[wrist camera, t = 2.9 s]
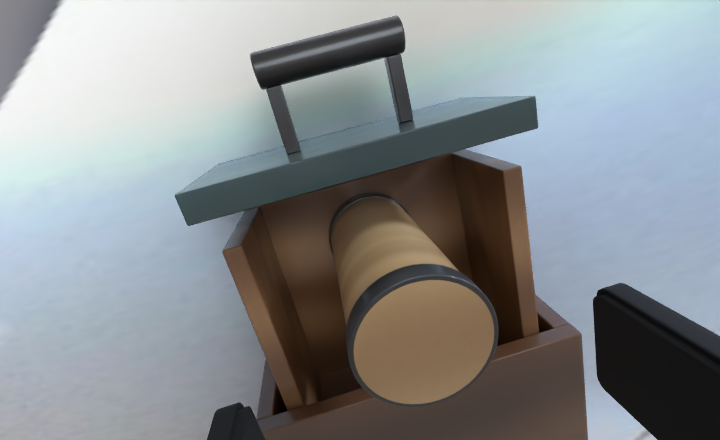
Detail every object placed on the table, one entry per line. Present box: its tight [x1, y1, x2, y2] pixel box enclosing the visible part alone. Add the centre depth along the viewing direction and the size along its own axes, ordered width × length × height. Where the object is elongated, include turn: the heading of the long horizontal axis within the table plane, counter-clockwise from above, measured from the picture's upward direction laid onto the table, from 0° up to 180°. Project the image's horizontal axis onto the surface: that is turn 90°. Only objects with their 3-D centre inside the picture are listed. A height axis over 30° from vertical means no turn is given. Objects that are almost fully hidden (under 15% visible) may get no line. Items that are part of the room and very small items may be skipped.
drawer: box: [175, 16, 539, 411], centre depth 18 cm, size 19×13×7 cm
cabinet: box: [256, 295, 588, 440], centre depth 22 cm, size 16×15×9 cm
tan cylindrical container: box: [329, 192, 499, 408], centre depth 16 cm, size 5×5×10 cm
